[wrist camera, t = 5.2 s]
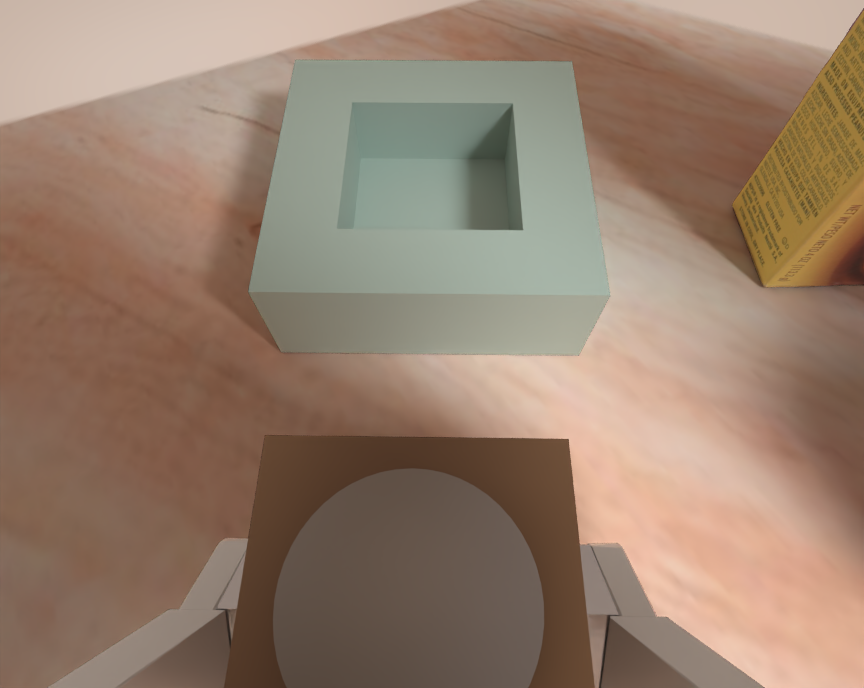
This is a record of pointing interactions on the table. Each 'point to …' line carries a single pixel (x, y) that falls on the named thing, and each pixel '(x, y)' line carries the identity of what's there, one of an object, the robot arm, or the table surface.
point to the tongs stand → (431, 211)
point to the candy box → (813, 183)
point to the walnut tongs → (412, 566)
